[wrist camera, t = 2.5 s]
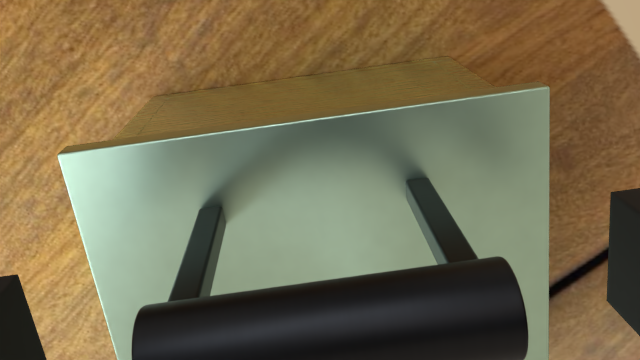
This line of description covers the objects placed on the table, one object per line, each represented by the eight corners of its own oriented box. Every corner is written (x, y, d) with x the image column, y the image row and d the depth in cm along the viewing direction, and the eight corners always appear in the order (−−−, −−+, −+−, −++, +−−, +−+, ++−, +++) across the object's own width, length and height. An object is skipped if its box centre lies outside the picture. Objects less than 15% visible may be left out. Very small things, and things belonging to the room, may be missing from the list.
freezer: (152, 96, 28) (75, 177, 18) (448, 55, 28) (539, 113, 18) (222, 405, 35) (195, 594, 24) (465, 371, 35) (540, 546, 24)
